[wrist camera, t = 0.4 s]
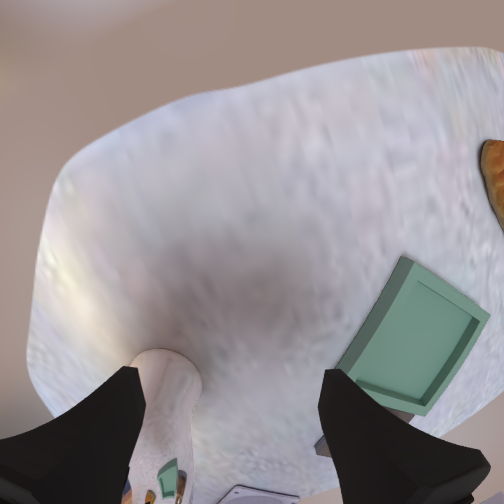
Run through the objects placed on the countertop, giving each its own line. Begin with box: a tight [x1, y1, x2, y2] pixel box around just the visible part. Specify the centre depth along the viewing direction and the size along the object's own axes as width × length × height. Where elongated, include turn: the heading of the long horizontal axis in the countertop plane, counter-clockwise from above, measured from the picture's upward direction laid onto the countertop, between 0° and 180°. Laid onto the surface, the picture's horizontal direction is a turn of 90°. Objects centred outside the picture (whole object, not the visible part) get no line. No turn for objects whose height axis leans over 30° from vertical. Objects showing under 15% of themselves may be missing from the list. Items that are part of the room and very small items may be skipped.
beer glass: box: [121, 349, 203, 504], centre depth 15 cm, size 7×7×15 cm
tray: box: [335, 256, 490, 416], centre depth 21 cm, size 11×11×2 cm
